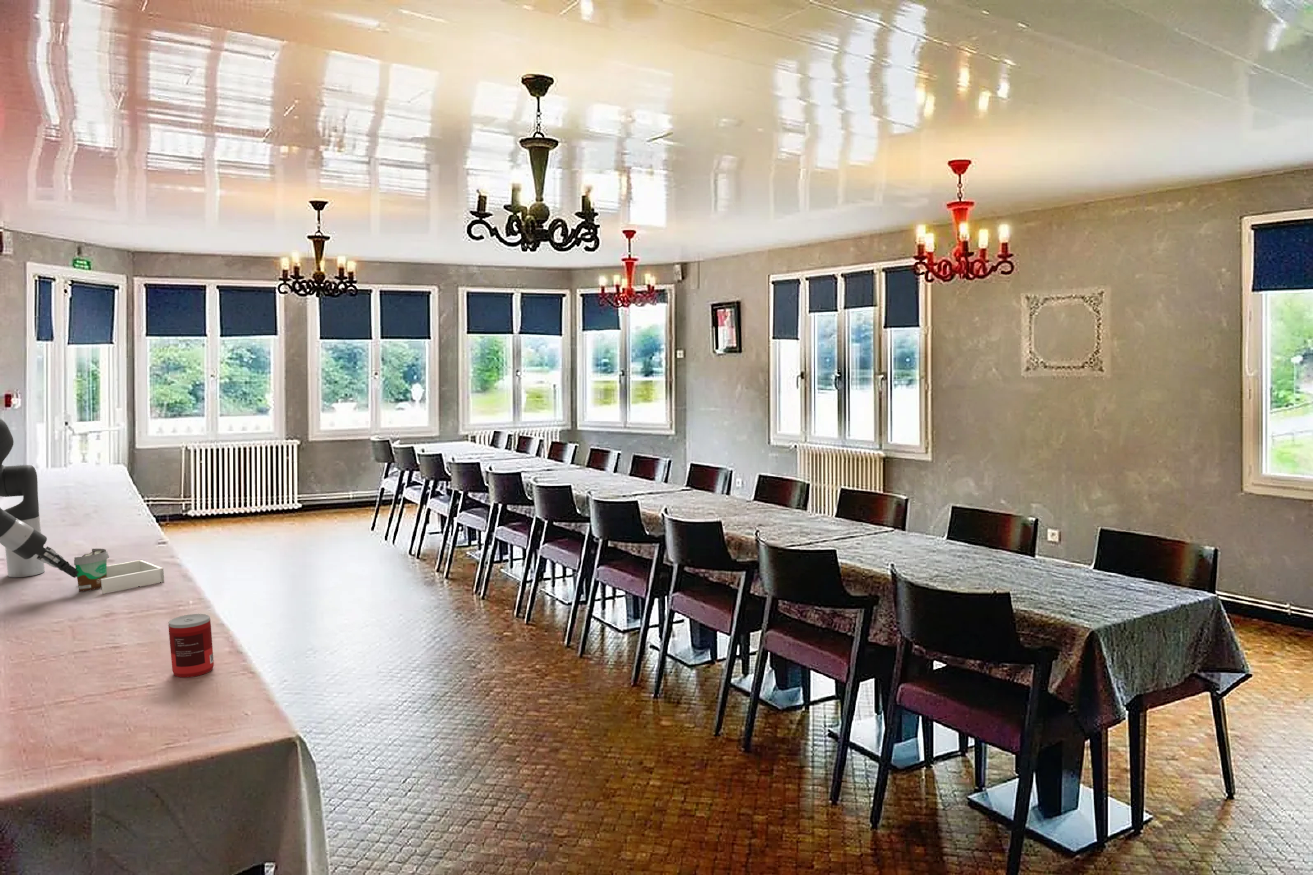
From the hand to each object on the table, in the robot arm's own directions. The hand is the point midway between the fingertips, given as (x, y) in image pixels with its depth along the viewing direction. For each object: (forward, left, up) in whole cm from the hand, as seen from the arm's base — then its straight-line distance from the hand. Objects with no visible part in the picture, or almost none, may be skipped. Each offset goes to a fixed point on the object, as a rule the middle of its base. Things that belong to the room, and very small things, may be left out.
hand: (77, 574), depth 254 cm
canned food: (+94, -5, -5) cm, 94 cm away
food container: (-2, +5, -5) cm, 7 cm away
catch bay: (0, +11, -5) cm, 12 cm away
